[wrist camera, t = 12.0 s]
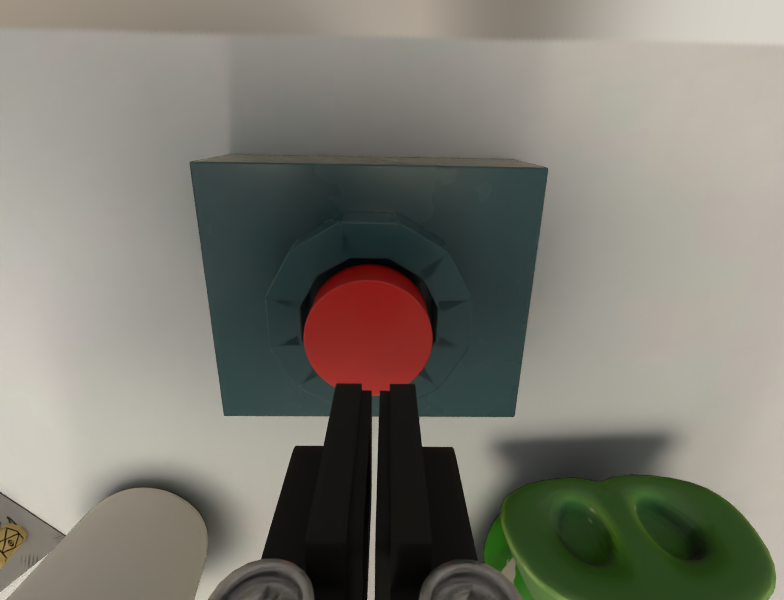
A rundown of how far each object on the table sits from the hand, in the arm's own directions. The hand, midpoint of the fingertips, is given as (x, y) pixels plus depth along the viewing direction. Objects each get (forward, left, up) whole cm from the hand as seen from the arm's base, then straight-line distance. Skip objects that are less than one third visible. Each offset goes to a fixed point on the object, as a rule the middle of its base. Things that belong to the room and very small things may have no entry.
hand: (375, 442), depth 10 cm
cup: (0, -21, -12) cm, 24 cm away
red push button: (0, 0, -6) cm, 6 cm away
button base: (0, 0, -12) cm, 12 cm away
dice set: (-8, -27, -12) cm, 31 cm away
